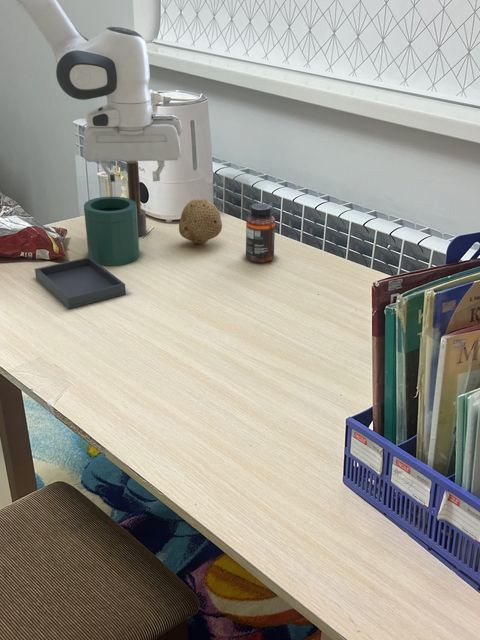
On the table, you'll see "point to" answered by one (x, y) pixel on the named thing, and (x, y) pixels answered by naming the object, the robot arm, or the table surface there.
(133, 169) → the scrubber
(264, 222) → the supplement bottle
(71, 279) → the tray
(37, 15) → the robot arm
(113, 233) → the jar
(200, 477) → the table surface
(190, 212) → the natural sponge
